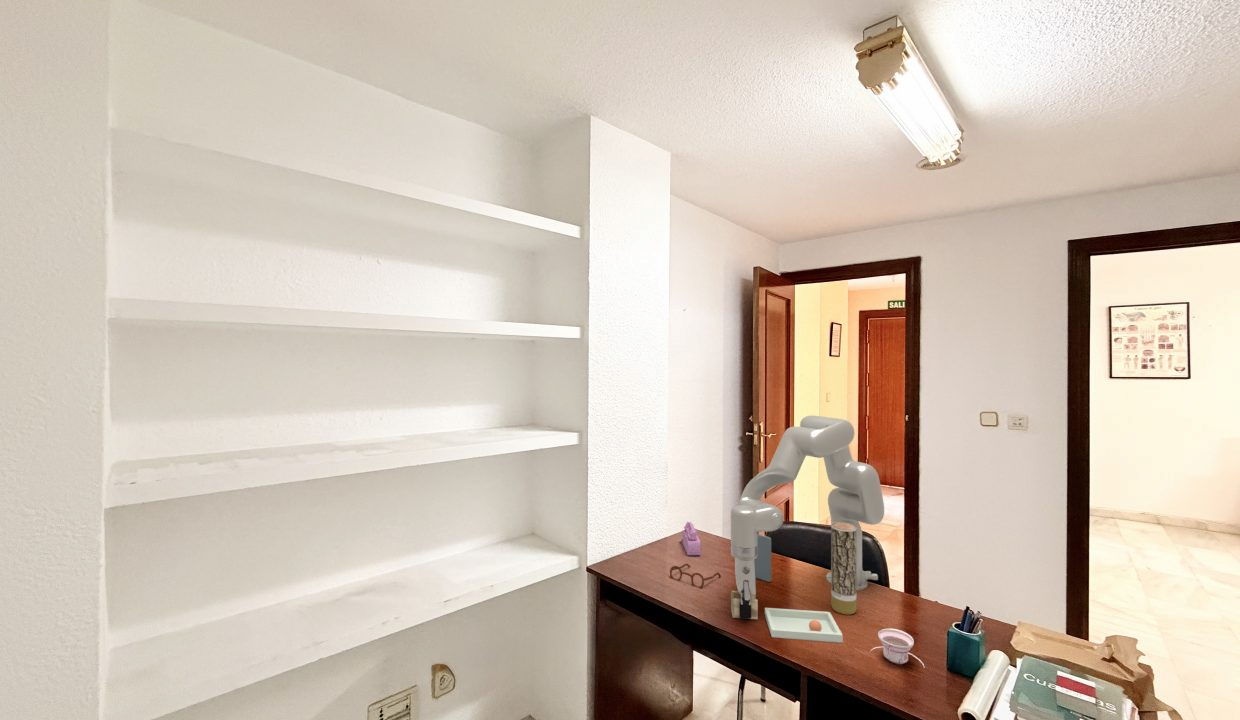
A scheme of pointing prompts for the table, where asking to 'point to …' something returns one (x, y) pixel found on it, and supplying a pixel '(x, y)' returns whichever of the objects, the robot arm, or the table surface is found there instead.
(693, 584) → the glasses
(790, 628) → the tray
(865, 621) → the table surface
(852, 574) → the paper tube
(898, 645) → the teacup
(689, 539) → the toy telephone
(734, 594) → the beige open holder
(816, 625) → the ball
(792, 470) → the robot arm
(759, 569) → the smartphone
